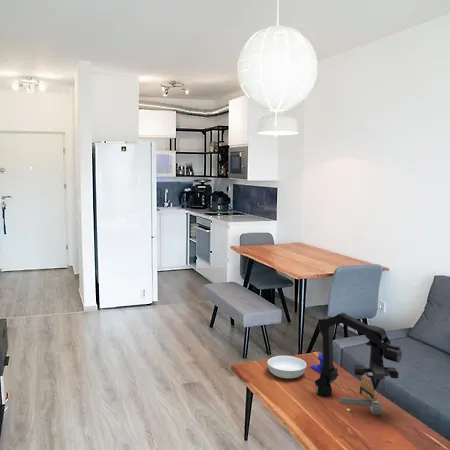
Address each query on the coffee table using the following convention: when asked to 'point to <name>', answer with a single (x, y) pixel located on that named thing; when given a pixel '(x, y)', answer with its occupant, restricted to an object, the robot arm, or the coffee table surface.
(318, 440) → the coffee table surface
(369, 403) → the hole plate
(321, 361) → the mount
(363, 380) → the ammunition clip
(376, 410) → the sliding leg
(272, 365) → the serving bowl
